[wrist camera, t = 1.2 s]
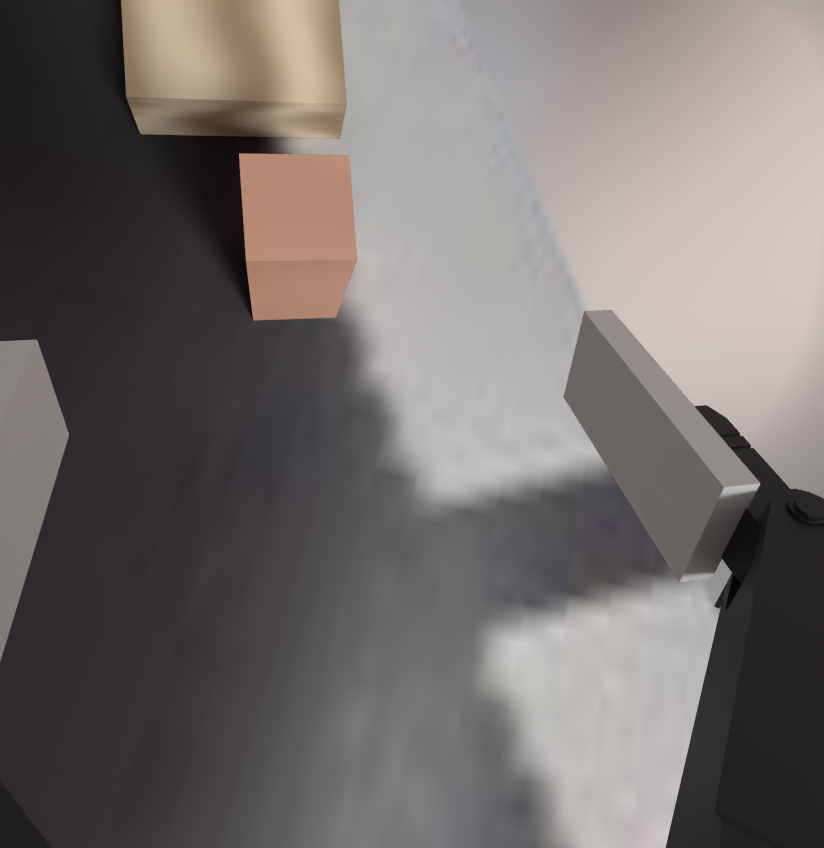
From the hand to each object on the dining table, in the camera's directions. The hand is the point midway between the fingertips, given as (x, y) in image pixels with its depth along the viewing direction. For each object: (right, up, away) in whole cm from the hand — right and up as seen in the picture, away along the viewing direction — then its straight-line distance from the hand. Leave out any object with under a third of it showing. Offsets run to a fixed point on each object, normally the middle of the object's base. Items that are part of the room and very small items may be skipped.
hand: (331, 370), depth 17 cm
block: (-5, +8, +25) cm, 26 cm away
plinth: (-9, +22, +25) cm, 35 cm away
